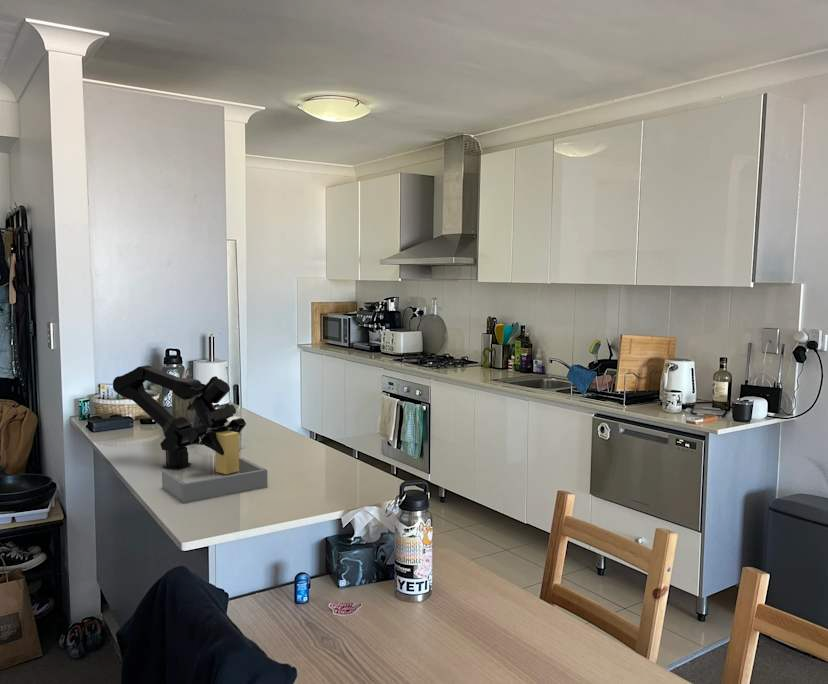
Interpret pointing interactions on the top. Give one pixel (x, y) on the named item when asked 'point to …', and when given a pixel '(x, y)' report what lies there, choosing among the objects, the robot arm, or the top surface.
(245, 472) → the open box
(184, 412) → the tabletop clock
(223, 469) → the ochre block
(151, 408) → the robot arm
